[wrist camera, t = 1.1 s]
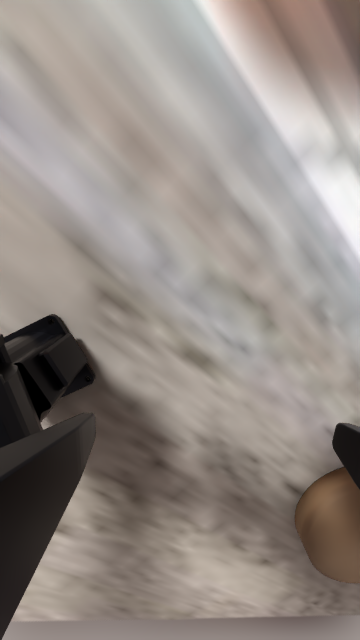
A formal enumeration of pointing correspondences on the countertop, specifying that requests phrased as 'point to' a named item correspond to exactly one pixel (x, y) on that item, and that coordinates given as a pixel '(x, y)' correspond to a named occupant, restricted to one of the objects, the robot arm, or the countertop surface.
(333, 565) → the base plate
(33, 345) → the robot arm
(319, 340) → the countertop surface
